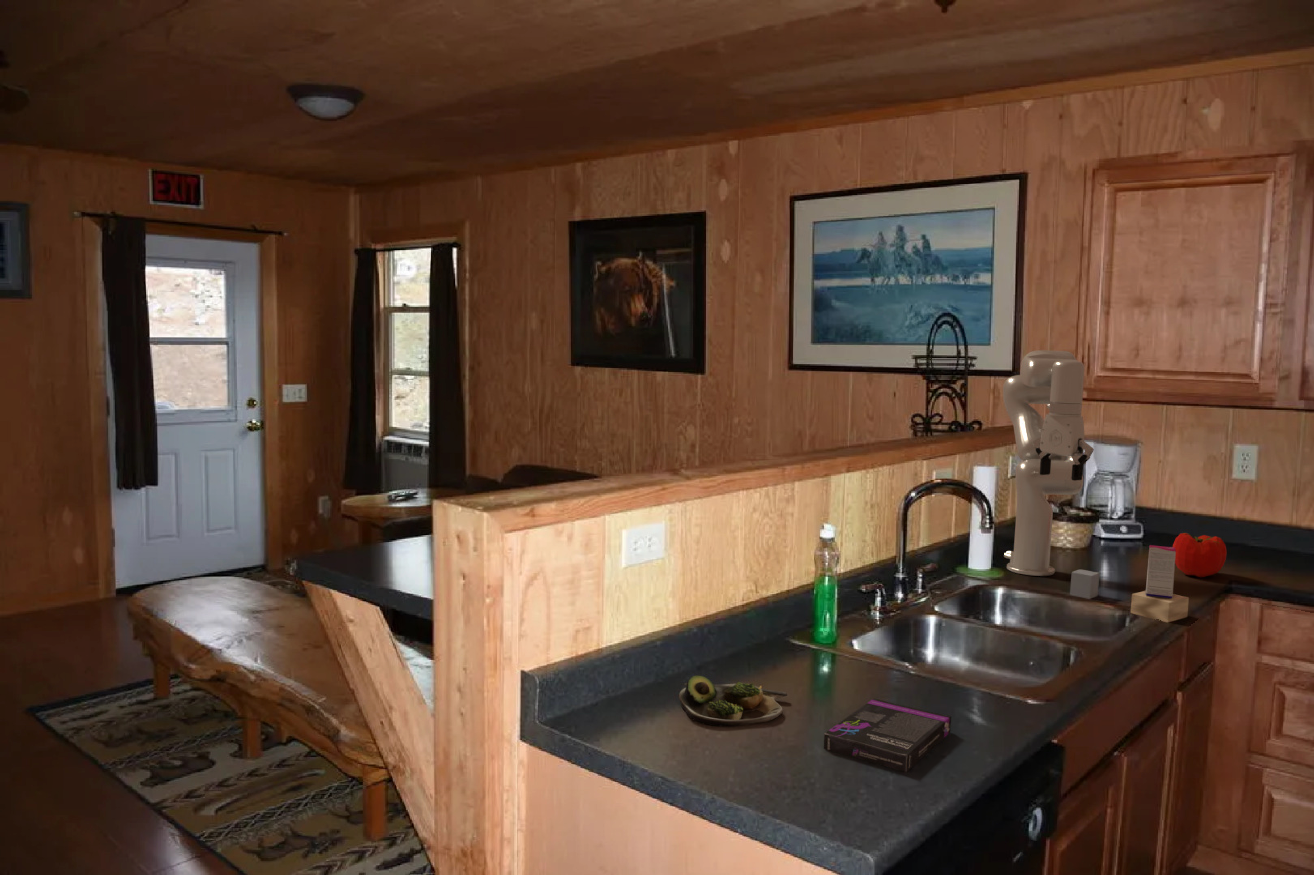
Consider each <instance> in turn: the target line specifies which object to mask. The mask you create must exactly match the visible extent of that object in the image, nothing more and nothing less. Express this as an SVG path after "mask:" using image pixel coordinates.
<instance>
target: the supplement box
mask: <svg viewBox="0 0 1314 875" xmlns="http://www.w3.org/2000/svg"><path fill="white" fill-rule="evenodd" d="M1148 548H1149V549H1148V558H1147V572H1146V585H1145V591H1146V596H1151V597H1161V598H1172V596H1173V594H1174V580H1175V567H1176V564H1175V555H1176V550H1175V548H1173V546H1160V545H1153V544H1152V545H1151V544H1150V545H1149V547H1148Z"/></svg>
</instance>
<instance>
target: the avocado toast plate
mask: <svg viewBox="0 0 1314 875" xmlns="http://www.w3.org/2000/svg"><path fill="white" fill-rule="evenodd" d="M684 685H685V687H684V688H682V689H681V690H680V692H679V693H678V699H679V702H680V705H681V707H682V709H683V711H684V712H685V714H686V716H688V717H689V718H690V719H691V720H693V721H695V722H697V723H698V724H702V725H705V726H711V727H712V726H713V727H736V726H746V725H754V724H759V723H760V724H761V723H765V722H768V721H771V720H774V719H775V718H777V717H779V716H780V715H782V714H783V712H784V710H783V707H782V706H781V705H780V704H779V703H778V702H777V701H776V700H777V699H779V698H785V697H787V696H788V692H784V691H778V690H771V689H763V685H760V686H756V685H754V683H750V684H749V683H747V682H746V683H743V682H739V681H737V682H736V683H730V684H726V683H725V684H714V683H713V682H712V680H710V679H709V678H708V677H705V676H703V675H697V674H696V675H694V676H693V675H692V676H691V677H690V678H689V679H688V680H687V682H686V683H684ZM754 711H759V712H760V713H762V714H763V715H761V716H760V717H756V718H745V719H742V715H743V713H747V712H754Z"/></svg>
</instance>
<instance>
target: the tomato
mask: <svg viewBox="0 0 1314 875" xmlns="http://www.w3.org/2000/svg"><path fill="white" fill-rule="evenodd" d="M1172 547H1173V548H1175V550H1176V555H1175V567H1176V568H1178V570H1179V571H1181V572H1182V573H1184V575H1187V576H1195V577H1197V578H1205V577H1210V576H1214V575H1215V574H1217V573H1219V572H1221V569H1222V568H1223V567H1224V564H1225V562H1226V559H1227V553H1228V552H1227V547H1226V543H1225V542H1224V540H1222V538H1221V537H1218V536H1209V535H1205V534H1203V535H1200V536H1198V537H1197V536H1192V535H1191V534H1190V533H1188V532H1181V533H1179V535H1178V536H1176V537H1175V539H1174V542H1173V544H1172Z"/></svg>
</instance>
